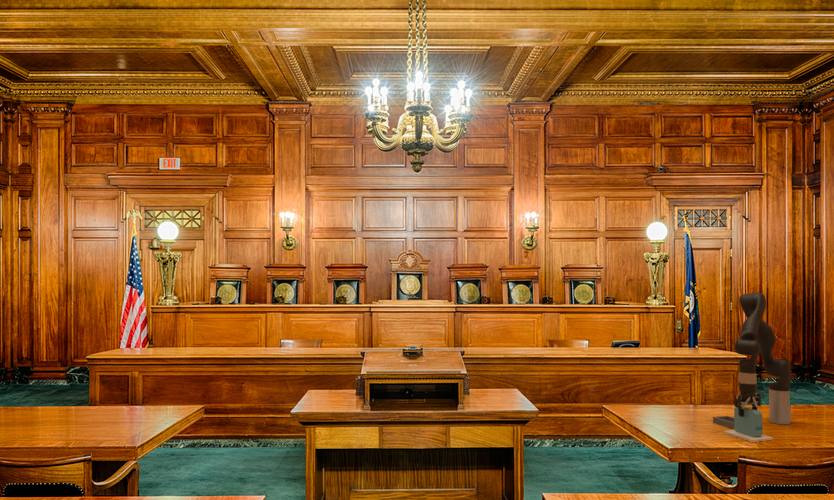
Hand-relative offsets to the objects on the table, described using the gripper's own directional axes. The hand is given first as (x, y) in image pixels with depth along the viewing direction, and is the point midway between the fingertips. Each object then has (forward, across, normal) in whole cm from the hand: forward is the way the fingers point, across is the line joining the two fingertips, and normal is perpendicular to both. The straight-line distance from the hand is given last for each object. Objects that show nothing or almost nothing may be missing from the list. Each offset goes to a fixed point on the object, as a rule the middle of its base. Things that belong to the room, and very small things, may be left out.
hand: (747, 415), depth 273 cm
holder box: (+10, -11, -17) cm, 22 cm away
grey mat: (+10, 0, 0) cm, 10 cm away
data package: (+9, 0, 0) cm, 9 cm away
